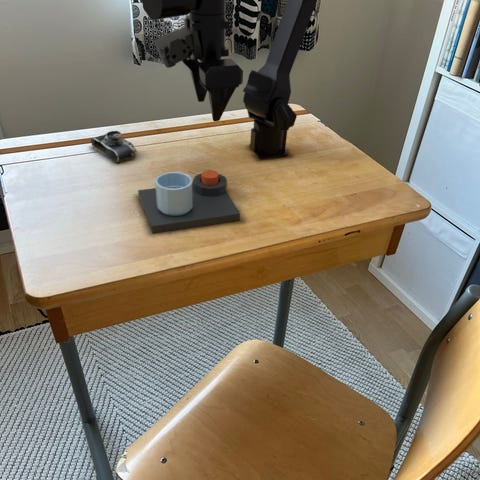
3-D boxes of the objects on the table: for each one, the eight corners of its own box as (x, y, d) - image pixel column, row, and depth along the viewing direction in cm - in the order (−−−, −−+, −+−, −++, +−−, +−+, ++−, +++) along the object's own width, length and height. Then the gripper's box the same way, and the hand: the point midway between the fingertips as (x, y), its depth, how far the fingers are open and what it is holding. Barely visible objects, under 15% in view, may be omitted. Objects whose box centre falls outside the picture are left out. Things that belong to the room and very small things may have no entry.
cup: (187, 196, 89) (187, 170, 86) (197, 214, 85) (196, 187, 82) (153, 201, 88) (151, 174, 84) (161, 219, 84) (159, 191, 80)
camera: (112, 140, 108) (110, 120, 105) (139, 158, 102) (138, 137, 100) (90, 146, 105) (87, 126, 102) (117, 165, 100) (115, 144, 97)
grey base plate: (220, 185, 96) (221, 170, 94) (242, 220, 87) (243, 204, 85) (138, 195, 91) (136, 180, 89) (152, 233, 83) (150, 217, 81)
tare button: (215, 177, 92) (215, 169, 91) (220, 184, 90) (220, 176, 89) (199, 179, 92) (199, 170, 91) (204, 186, 90) (204, 178, 88)
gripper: (144, -1, 85) (152, 96, 96) (171, 29, 72) (177, 137, 83) (208, -4, 88) (209, 91, 98) (246, 25, 75) (242, 130, 86)
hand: (208, 110), depth 91 cm, fingers open, 9 cm apart
